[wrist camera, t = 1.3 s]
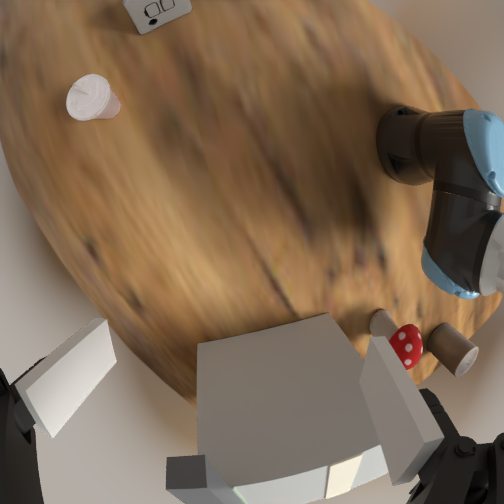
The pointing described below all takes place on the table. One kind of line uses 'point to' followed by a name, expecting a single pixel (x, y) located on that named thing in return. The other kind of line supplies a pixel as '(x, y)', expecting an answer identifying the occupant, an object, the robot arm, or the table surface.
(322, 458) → the breaker panel
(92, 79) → the smoothie
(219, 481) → the handle
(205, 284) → the table surface
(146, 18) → the electrical switch
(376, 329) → the decorative mushroom
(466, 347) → the pillar candle
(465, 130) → the robot arm
